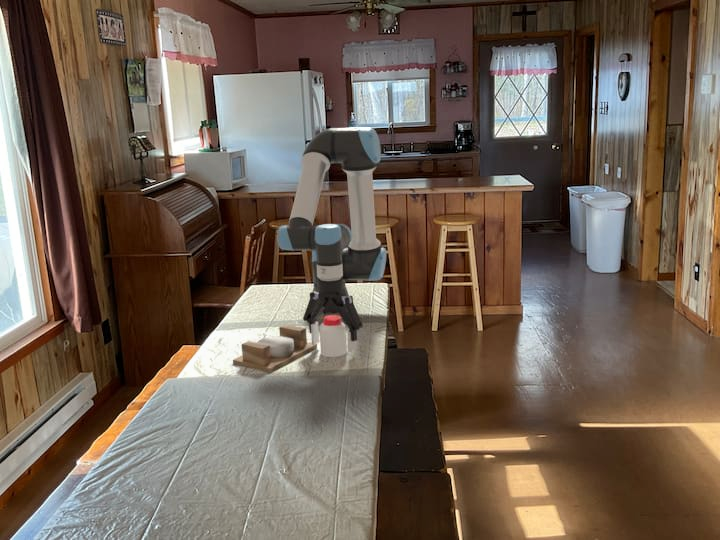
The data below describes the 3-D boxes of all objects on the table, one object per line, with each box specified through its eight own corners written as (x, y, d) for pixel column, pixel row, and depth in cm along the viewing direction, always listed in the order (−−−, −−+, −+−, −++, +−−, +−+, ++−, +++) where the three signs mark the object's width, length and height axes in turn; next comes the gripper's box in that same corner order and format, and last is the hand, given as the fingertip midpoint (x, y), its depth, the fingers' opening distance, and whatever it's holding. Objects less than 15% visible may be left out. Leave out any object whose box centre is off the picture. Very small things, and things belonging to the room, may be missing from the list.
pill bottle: (348, 348, 207) (346, 313, 204) (345, 357, 199) (343, 321, 197) (322, 348, 207) (321, 313, 205) (318, 357, 200) (317, 321, 197)
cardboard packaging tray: (281, 340, 215) (280, 322, 214) (316, 347, 208) (315, 328, 206) (233, 363, 198) (231, 343, 196) (270, 372, 190) (268, 351, 189)
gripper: (288, 276, 201) (293, 344, 206) (358, 285, 188) (361, 358, 193) (304, 270, 207) (308, 337, 212) (372, 279, 194) (375, 349, 199)
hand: (333, 347), depth 203 cm, fingers open, 12 cm apart
